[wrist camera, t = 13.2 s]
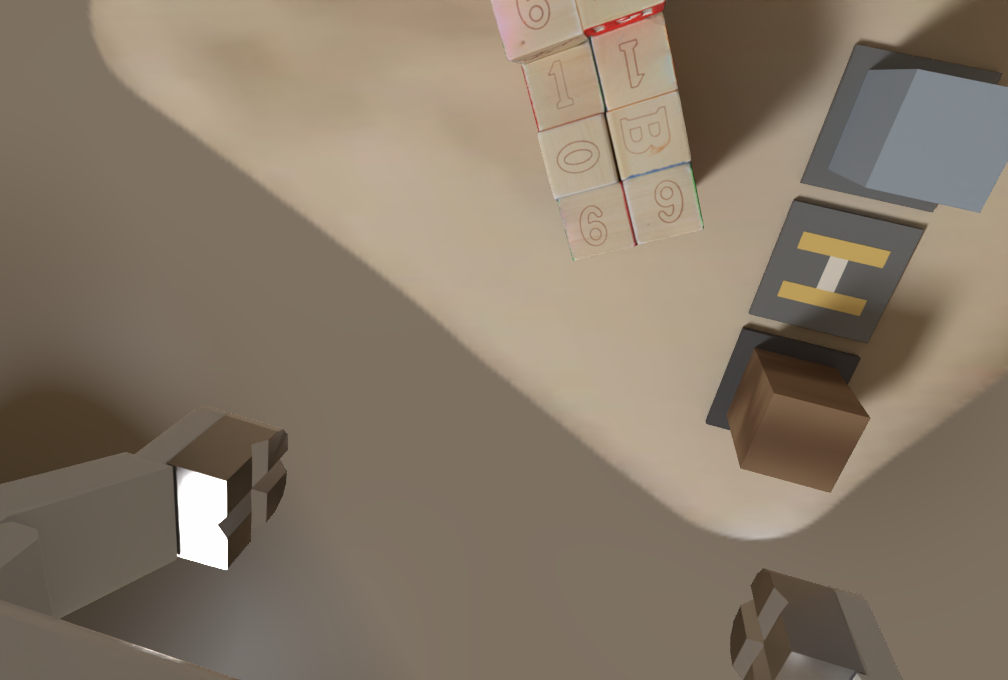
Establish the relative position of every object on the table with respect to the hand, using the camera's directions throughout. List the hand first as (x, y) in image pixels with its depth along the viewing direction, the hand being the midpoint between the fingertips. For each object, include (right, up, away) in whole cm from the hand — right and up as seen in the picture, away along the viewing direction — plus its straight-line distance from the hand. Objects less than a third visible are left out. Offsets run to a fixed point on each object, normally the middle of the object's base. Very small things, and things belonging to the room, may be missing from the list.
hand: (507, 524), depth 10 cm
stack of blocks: (+5, +21, +23) cm, 31 cm away
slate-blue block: (+20, +14, +21) cm, 33 cm away
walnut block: (+17, 0, +28) cm, 33 cm away
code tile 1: (+19, +7, +25) cm, 32 cm away
